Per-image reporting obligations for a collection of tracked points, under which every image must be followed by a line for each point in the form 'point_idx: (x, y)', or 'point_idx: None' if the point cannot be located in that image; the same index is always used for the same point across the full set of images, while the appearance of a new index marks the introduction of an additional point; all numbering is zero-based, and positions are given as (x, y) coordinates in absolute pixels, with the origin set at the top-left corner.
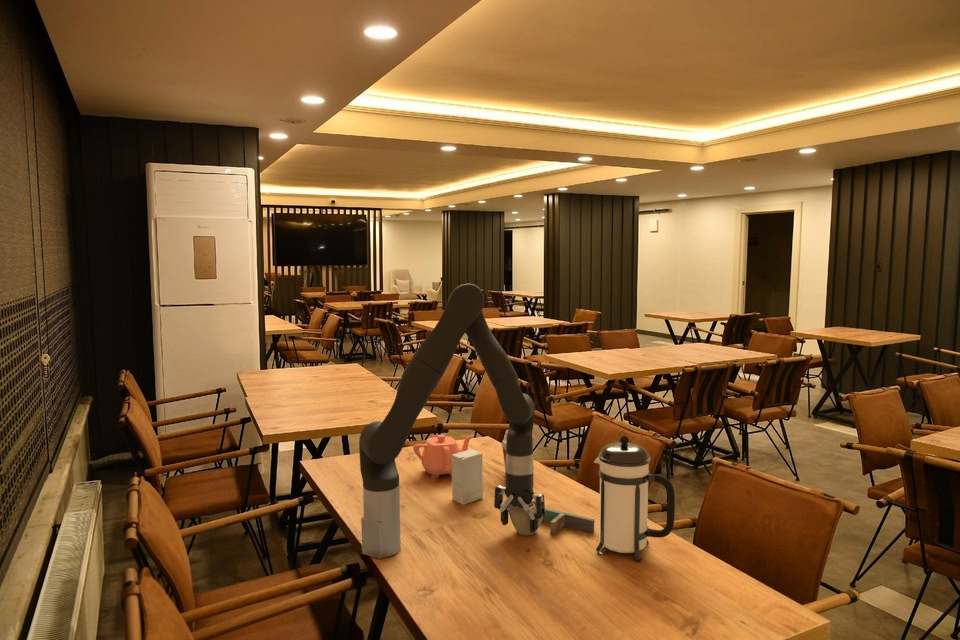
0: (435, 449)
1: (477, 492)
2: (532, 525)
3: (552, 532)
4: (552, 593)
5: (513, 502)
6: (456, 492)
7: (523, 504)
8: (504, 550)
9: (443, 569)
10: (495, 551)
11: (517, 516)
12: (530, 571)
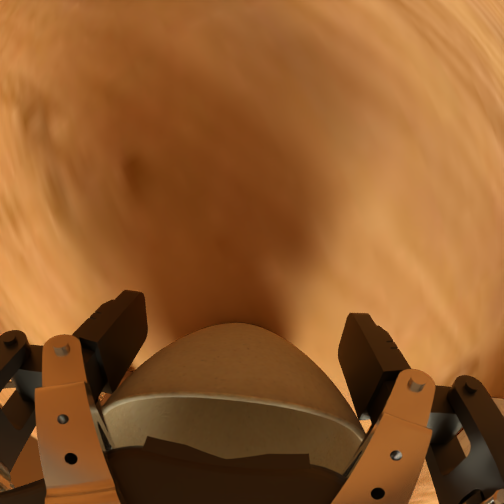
0: None
1: (465, 449)
2: (102, 313)
3: (125, 376)
4: (18, 2)
5: (290, 499)
6: None
7: (77, 464)
8: (253, 103)
9: None
10: (295, 72)
11: (238, 369)
12: (74, 24)
